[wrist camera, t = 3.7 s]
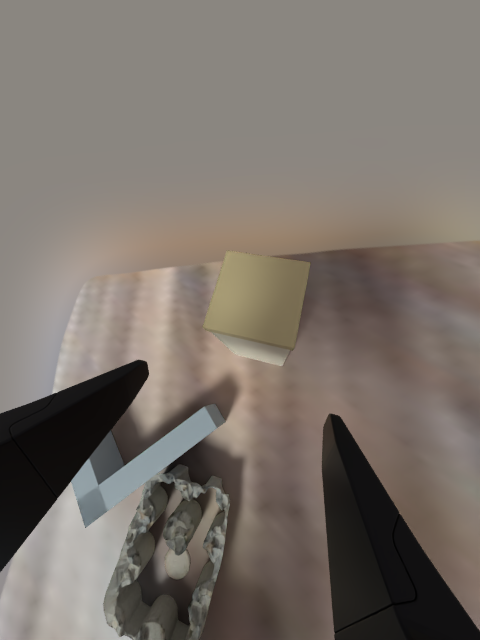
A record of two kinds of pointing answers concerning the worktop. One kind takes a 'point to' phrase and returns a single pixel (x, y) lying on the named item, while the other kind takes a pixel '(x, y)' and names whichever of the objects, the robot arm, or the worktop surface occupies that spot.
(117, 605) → the egg carton
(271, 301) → the tea tin
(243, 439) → the worktop surface
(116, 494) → the corner fence
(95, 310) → the worktop surface
